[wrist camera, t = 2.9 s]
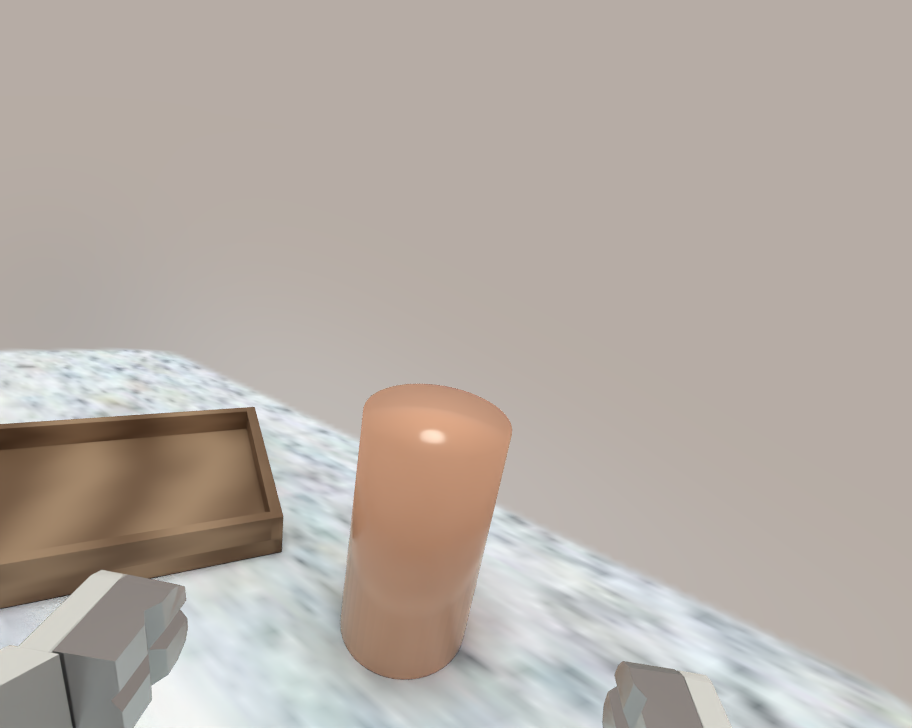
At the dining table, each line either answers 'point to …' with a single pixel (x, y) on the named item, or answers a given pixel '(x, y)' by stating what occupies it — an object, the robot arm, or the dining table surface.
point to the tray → (131, 498)
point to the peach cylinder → (419, 525)
